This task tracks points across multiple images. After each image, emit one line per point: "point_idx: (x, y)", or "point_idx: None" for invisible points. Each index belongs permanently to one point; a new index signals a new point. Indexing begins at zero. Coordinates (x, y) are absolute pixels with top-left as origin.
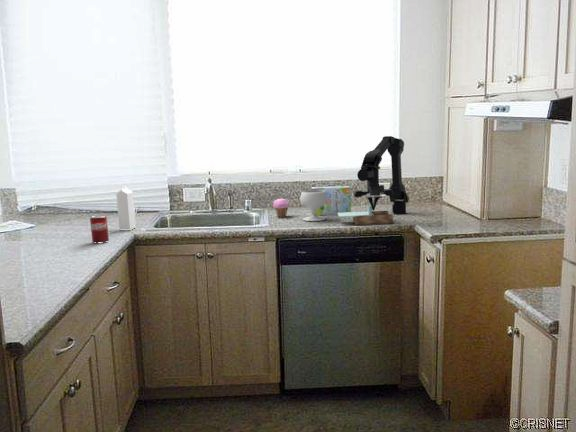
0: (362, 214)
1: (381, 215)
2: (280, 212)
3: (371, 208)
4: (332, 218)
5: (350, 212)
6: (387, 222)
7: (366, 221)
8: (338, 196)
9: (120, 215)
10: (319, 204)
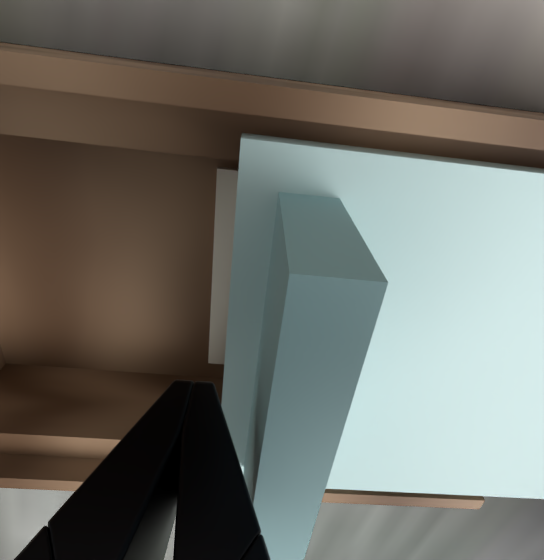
0: (474, 269)
1: (34, 54)
2: None
3: (301, 264)
4: (531, 531)
5: (540, 482)
6: None
7: (403, 96)
8: None
9: None
10: None
